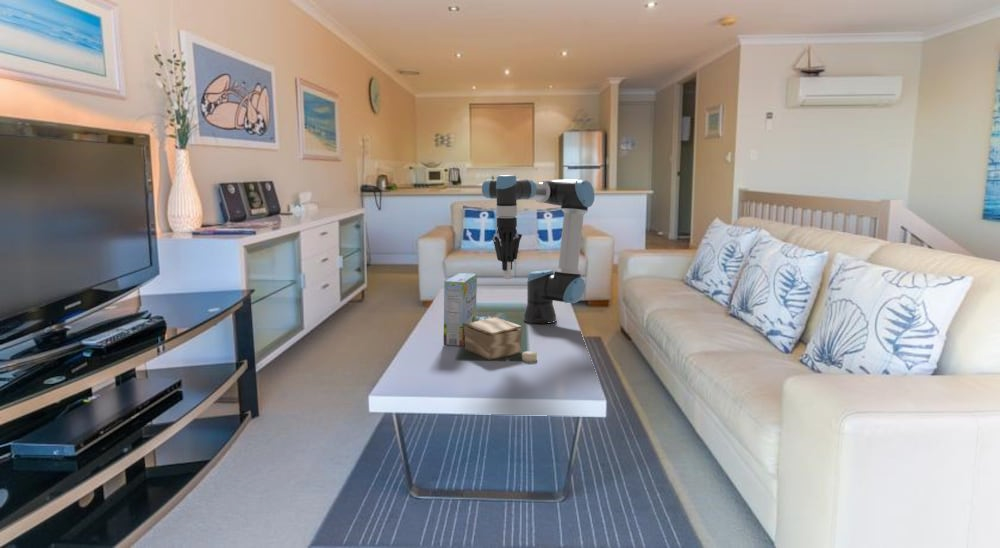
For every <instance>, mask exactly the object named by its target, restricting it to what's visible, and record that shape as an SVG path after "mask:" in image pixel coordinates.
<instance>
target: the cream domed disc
mask: <svg viewBox="0 0 1000 548" xmlns="http://www.w3.org/2000/svg"><path fill="white" fill-rule="evenodd" d="M521 353H522V354H521V357H522V358H521V359H522V361H523V362H524V363H525V362H526V363H533V362H536V361H537V358H538V357H537V356H538V355H537V352H536V351H531V350H529V351H528V350H526V351H523V352H521Z"/></svg>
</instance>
